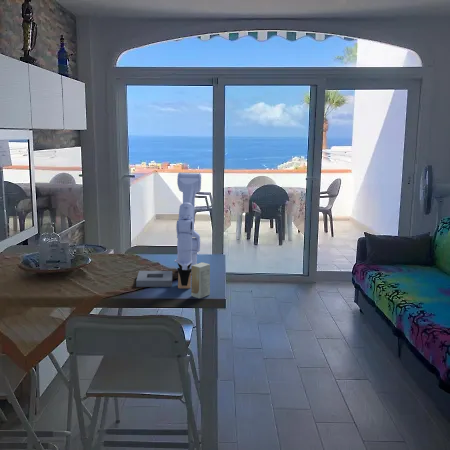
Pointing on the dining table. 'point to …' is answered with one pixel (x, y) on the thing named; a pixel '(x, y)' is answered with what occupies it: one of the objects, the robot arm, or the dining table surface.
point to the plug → (181, 284)
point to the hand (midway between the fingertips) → (184, 282)
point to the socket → (154, 279)
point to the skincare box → (200, 280)
